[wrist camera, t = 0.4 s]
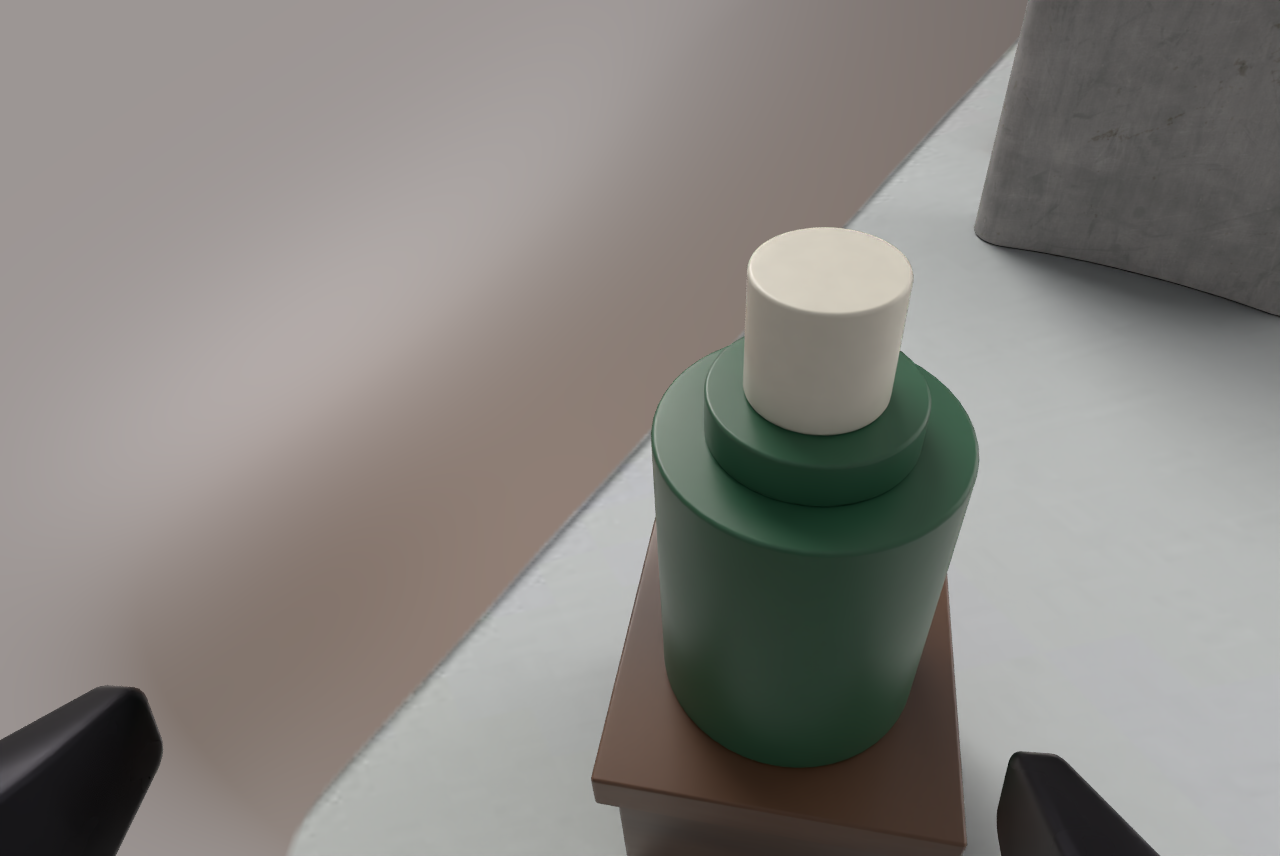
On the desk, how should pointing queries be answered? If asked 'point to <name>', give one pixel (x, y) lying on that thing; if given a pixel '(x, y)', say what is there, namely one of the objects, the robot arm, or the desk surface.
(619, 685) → the brown lidded box
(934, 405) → the bottle
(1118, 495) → the desk surface
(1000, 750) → the desk surface
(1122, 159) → the hip flask
